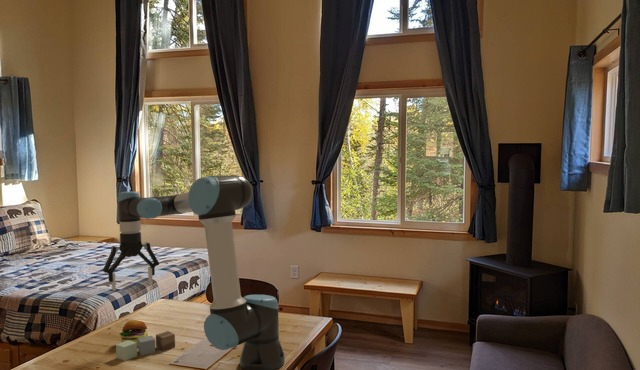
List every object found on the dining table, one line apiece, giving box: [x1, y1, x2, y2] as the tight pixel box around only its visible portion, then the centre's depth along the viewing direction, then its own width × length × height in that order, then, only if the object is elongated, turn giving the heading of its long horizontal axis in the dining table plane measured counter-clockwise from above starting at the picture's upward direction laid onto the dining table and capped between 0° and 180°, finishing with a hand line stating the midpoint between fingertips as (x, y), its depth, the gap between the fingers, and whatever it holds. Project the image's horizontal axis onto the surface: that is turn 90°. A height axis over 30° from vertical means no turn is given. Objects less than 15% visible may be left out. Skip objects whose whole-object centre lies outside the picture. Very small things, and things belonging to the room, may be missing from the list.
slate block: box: [137, 335, 156, 356], centre depth 177 cm, size 5×5×5 cm
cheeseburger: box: [119, 319, 149, 348], centre depth 186 cm, size 10×11×10 cm
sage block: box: [115, 340, 138, 362], centre depth 172 cm, size 5×5×5 cm
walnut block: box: [155, 330, 176, 352], centre depth 181 cm, size 5×5×5 cm
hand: (132, 287), depth 185 cm, fingers open, 13 cm apart
